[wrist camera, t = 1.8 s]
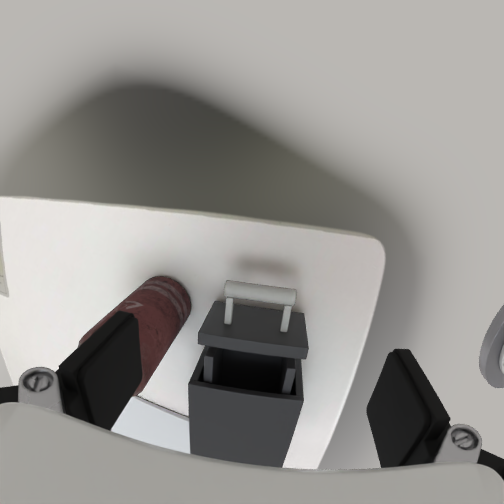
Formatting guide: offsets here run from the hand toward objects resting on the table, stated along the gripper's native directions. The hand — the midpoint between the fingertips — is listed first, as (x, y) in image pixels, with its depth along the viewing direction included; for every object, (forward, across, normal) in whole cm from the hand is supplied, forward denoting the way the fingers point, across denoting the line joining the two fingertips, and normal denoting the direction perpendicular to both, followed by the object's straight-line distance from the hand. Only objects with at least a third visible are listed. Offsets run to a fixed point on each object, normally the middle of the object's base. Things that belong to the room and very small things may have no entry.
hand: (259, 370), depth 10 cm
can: (+20, +11, +8) cm, 25 cm away
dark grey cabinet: (+20, +1, +18) cm, 27 cm away
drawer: (+19, +1, +10) cm, 22 cm away
